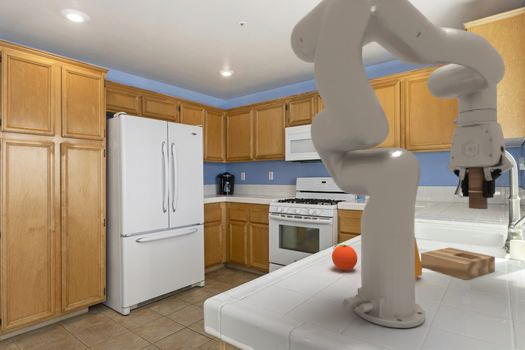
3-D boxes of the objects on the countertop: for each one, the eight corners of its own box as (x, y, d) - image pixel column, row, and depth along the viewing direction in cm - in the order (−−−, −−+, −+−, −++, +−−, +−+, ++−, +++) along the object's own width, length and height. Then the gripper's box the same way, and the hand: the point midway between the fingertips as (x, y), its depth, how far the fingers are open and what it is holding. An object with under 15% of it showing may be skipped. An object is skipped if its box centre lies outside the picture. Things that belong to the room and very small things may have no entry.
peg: (482, 209, 68) (482, 165, 68) (464, 207, 71) (464, 166, 71) (491, 208, 70) (491, 165, 70) (473, 207, 73) (473, 166, 73)
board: (465, 279, 74) (465, 263, 74) (420, 267, 85) (420, 253, 85) (494, 271, 81) (494, 256, 81) (449, 260, 91) (449, 247, 91)
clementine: (324, 267, 85) (323, 242, 85) (341, 263, 88) (341, 240, 89) (344, 275, 78) (344, 248, 78) (363, 271, 82) (362, 245, 82)
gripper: (433, 124, 76) (433, 195, 76) (511, 111, 61) (511, 200, 61) (450, 126, 80) (451, 194, 80) (528, 115, 65) (529, 198, 65)
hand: (477, 196), depth 70 cm, fingers closed on peg, 3 cm apart
